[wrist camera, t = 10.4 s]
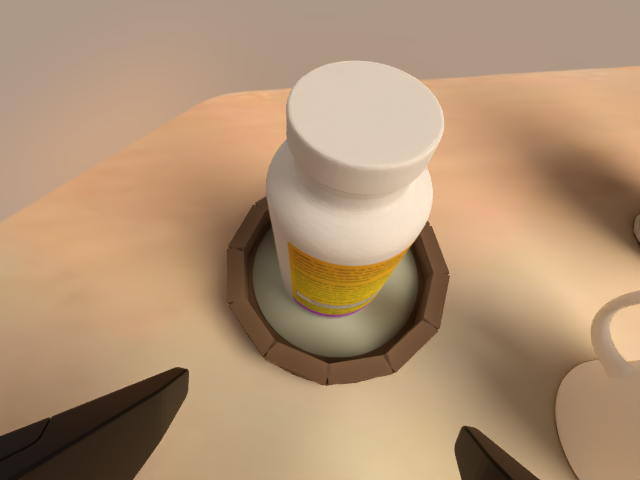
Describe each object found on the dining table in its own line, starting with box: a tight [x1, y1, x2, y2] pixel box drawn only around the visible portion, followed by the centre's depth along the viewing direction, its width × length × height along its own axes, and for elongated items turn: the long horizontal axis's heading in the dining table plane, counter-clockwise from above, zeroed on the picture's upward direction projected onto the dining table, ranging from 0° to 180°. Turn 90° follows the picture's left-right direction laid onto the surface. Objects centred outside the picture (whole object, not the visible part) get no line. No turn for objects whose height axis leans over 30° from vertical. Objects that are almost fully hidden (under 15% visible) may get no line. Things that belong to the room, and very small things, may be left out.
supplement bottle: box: [266, 61, 444, 319], centre depth 14 cm, size 7×7×13 cm
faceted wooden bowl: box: [227, 196, 449, 386], centre depth 20 cm, size 14×14×2 cm
